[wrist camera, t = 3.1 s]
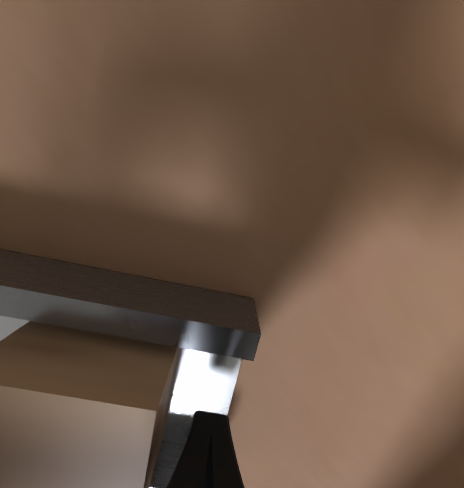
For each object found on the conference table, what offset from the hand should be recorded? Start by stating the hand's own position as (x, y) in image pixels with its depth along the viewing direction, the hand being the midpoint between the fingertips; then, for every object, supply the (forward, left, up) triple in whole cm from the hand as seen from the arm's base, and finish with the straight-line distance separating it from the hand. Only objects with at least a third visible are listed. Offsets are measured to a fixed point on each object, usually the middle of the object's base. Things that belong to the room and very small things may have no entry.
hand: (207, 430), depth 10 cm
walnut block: (0, +5, -2) cm, 5 cm away
